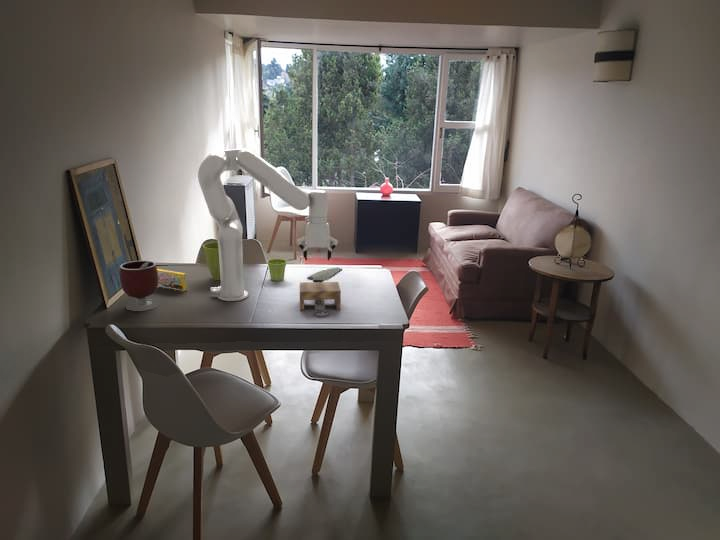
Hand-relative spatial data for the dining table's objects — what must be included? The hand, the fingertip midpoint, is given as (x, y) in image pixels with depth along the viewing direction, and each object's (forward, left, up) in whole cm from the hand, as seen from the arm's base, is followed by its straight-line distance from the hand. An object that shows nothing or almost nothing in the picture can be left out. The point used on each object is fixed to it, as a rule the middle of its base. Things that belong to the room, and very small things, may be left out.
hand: (317, 259), depth 230 cm
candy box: (-64, +11, -16) cm, 66 cm away
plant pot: (-18, +23, -16) cm, 33 cm away
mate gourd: (-70, -11, -16) cm, 72 cm away
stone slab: (+5, +30, -16) cm, 34 cm away
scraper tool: (0, -8, -16) cm, 18 cm away
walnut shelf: (0, -14, -15) cm, 21 cm away
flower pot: (-44, +26, -16) cm, 53 cm away
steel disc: (0, -25, -16) cm, 30 cm away
